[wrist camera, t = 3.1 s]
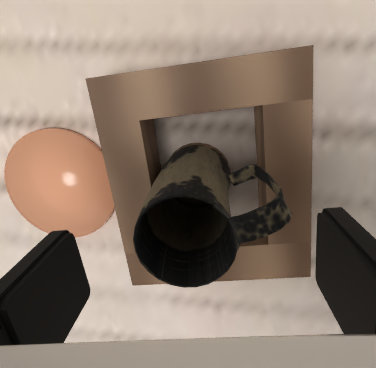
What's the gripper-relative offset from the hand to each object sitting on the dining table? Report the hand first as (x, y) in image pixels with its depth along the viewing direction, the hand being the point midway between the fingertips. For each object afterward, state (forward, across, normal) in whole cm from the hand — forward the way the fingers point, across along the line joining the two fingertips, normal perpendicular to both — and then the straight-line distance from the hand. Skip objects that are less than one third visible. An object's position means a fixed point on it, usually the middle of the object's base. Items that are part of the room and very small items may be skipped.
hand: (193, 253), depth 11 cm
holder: (+13, 0, +1) cm, 13 cm away
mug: (+13, 0, +1) cm, 13 cm away
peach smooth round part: (+13, +13, +1) cm, 18 cm away
